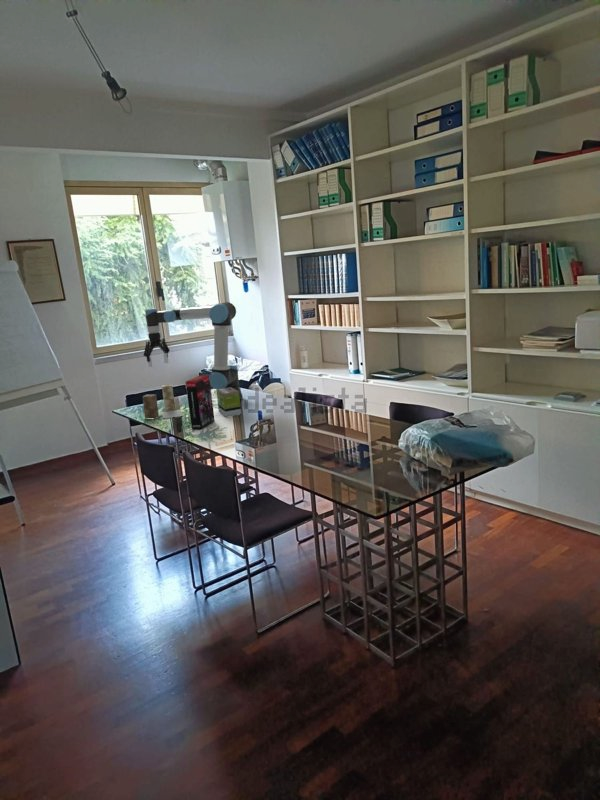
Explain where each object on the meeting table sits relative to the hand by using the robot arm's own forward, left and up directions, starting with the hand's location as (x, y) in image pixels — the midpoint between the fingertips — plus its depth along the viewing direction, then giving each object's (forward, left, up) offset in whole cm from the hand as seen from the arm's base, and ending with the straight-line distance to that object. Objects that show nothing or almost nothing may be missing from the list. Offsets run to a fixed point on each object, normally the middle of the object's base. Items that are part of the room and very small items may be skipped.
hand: (158, 364), depth 384 cm
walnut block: (-9, +36, -27) cm, 45 cm away
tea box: (-56, +28, -27) cm, 68 cm away
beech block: (-12, +17, -27) cm, 34 cm away
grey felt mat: (-19, +28, -27) cm, 43 cm away
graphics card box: (-49, +54, -27) cm, 78 cm away
